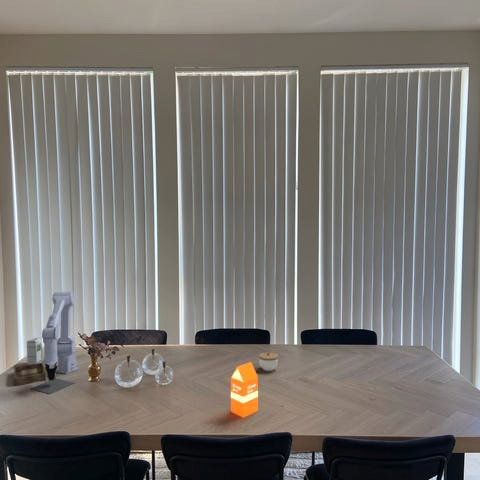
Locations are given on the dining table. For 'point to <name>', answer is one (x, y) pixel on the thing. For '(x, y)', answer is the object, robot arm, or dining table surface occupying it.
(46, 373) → the birch block
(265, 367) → the lidded jar
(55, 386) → the rubber mat
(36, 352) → the syrup box
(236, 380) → the orange juice
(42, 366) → the walnut crate
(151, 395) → the dining table surface
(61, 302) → the robot arm
